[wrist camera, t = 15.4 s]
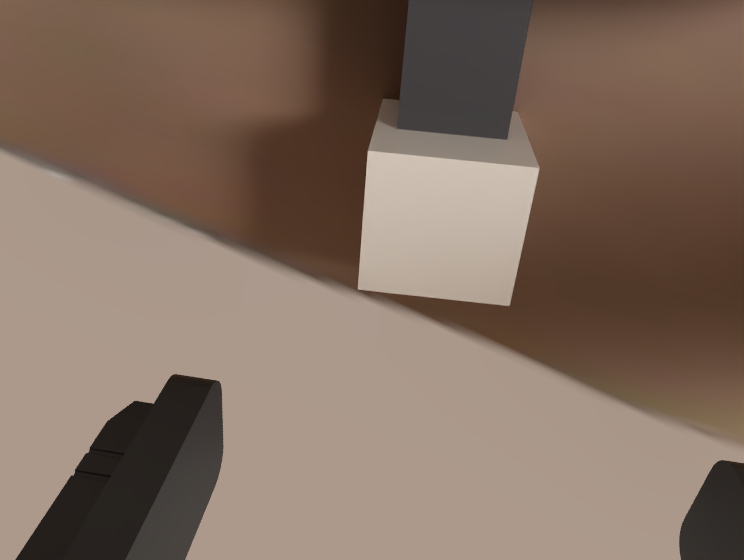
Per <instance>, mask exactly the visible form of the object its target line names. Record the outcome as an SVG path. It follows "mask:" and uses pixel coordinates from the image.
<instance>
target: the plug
mask: <svg viewBox="0 0 744 560" xmlns="http://www.w3.org/2000/svg"><path fill="white" fill-rule="evenodd" d="M532 3H533V0H409V4H408V15H407V25H406V36H405V46H404V57H403V67H402V78H401V89H400V99H399V100H393V99H383V100H382V103H381V107H380V110H379V114H378V117H377V121H376V124H375V128H374V131H373V135H372V138H371V141H370V145H369V148H368V155H367V169H366V183H365V196H364V210H363V224H362V238H361V251H360V265H359V279H358V290H367V291H376V292H385V293H394V294H403V295H412V296H422V297H431V298H440V299H449V300H458V301H467V302H476V303H486V304H495V305H504V306H510V302H511V297H512V293H513V288H514V284H515V279H516V274H517V270H518V265H519V261H520V256H521V251H522V247H523V242H524V237H525V233H526V228H527V224H528V219H529V214H530V210H531V205H532V200H533V196H534V191H535V187H536V182H537V177H538V173H539V165H538V163H537V160H536V158H535V155H534V152H533V150H532V147H531V145H530V142H529V140H528V137H527V134H526V132H525V129H524V127H523V124H522V121H521V119H520V116H519V114H518V112H517V111H513V106H514V100H515V95H516V90H517V84H518V79H519V73H520V68H521V63H522V57H523V52H524V46H525V41H526V36H527V30H528V25H529V19H530V14H531V9H532Z"/></svg>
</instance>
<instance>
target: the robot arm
mask: <svg viewBox="0 0 744 560" xmlns="http://www.w3.org/2000/svg"><path fill="white" fill-rule="evenodd" d="M222 456H223V419H222V389H221V384H220V382H219V381H216V380H209V379H203V378H196V377H190V376H183V375H177V374H175V375H172V376H171V377H170V378H169V380H168V381H167V383H166V384H165V386H164V388H163V389H162V391H161V393H160V394H159V396H158V398H157V400H156V401H155V403H154V404H152V403H145V402H139V401H134V402H133V403H131V404H130V405H129V406H127V407H126V408H125V409H123V410H122V411H121V412H119V413H118V414H117V415H115V416H114V417H113V418H111V419H110V420H108V421H107V423H106V424H105V426H104V427H103V429H102V430H101V432H100V433H99V435H98V436H97V438H96V439H95V441H94V442H93V444H92V445H91V447H90V450H89V453H86V454H85V456H84V457H83V459H82V460H81V462H80V463H79V465H78V466H77V468H76V469H75V474H74V476H71V477H70V478H69V480H68V481H67V483H66V484H65V486H64V487H63V489H62V490H61V492H60V493H59V495H58V496H57V498H56V499H55V501H54V502H53V504H52V505H51V507H50V508H49V510H48V512H47V513H46V514H45V516H44V517H43V519H42V520H41V522H40V524H39V525H38V527H37V528H36V530H35V531H34V533H33V534H32V536H31V537H30V539H29V540H28V542H27V543H26V545H25V546H24V548H23V549H22V551H21V552H20V554H19V555H18V557H17V558H16V560H185V558H186V556H187V553H188V551H189V549H190V546H191V544H192V541H193V539H194V536H195V534H196V531H197V529H198V526H199V524H200V522H201V519H202V517H203V514H204V512H205V510H206V507H207V505H208V502H209V500H210V497H211V495H212V492H213V490H214V487H215V485H216V482H217V479H218V475H219V472H220V468H221V463H222ZM679 544H680V545H679V546H680V556H681V560H744V463H737V462H731V461H724V460H721V461H718V462H717V463H716V464H715V465H714V466H713V467H712V469H711V471H710V472H709V474H708V476H707V478H706V480H705V482H704V484H703V485H702V487H701V489H700V491H699V493H698V495H697V497H696V498H695V500H694V502H693V504H692V506H691V508H690V510H689V511H688V513H687V515H686V517H685V519H684V521H683V523H682V526H681V531H680V541H679Z"/></svg>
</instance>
